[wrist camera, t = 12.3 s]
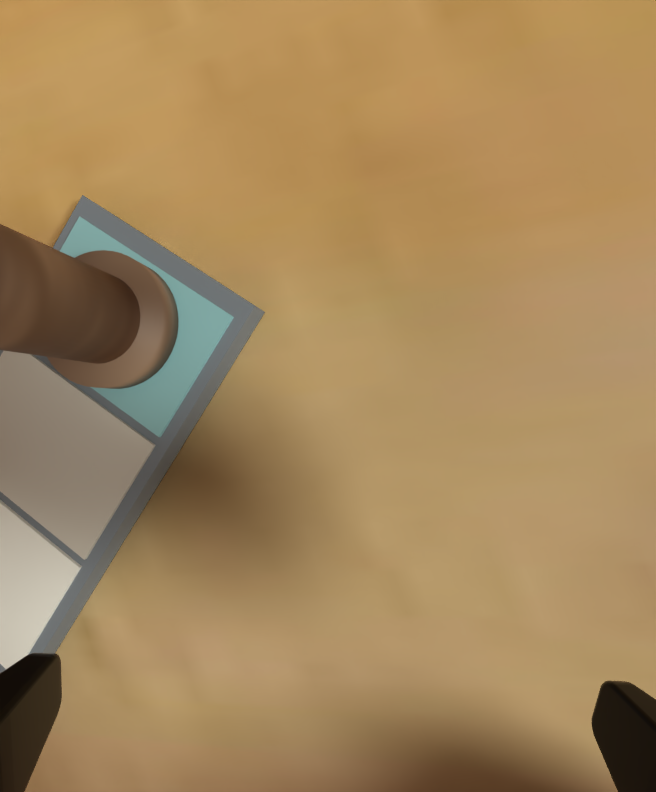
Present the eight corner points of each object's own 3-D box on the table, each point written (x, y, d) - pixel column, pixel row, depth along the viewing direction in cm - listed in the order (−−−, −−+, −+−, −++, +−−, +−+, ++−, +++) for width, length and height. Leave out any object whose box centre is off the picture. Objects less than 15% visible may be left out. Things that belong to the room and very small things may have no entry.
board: (101, 207, 20) (80, 193, 19) (264, 312, 19) (253, 305, 18) (-98, 558, 22) (-131, 568, 21) (38, 679, 21) (12, 698, 19)
